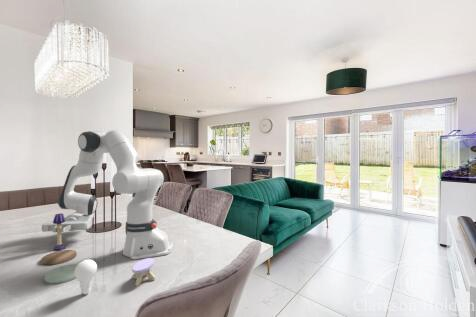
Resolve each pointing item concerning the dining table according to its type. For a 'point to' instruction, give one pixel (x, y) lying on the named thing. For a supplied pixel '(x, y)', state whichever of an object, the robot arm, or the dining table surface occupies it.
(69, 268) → the sage coaster
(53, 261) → the walnut coaster
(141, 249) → the robot arm
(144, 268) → the toy table
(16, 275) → the dining table surface
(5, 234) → the dining table surface
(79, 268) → the lightbulb
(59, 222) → the toy lamp
